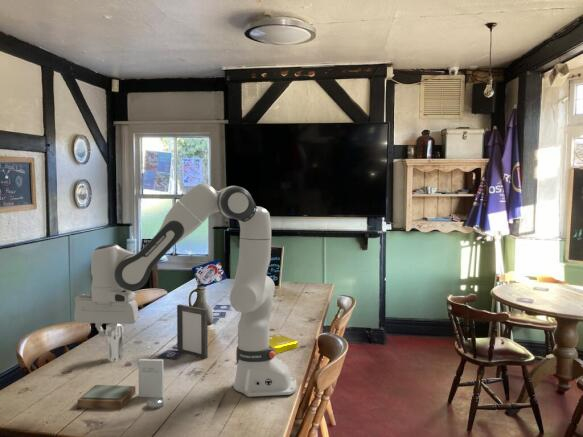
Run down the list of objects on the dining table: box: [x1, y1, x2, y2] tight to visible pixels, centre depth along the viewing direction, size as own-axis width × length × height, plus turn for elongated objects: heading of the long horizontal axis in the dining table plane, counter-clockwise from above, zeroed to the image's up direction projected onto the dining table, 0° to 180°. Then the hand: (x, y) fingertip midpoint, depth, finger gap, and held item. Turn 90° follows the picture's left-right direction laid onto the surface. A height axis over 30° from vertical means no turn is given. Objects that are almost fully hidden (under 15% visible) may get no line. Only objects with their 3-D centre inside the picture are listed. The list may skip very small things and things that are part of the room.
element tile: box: [269, 333, 299, 355], centre depth 211 cm, size 15×15×5 cm
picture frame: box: [176, 303, 209, 360], centre depth 200 cm, size 16×2×21 cm, turn 56°
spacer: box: [146, 397, 164, 410], centre depth 154 cm, size 5×5×2 cm
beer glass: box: [105, 323, 125, 363], centre depth 194 cm, size 7×7×15 cm
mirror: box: [77, 384, 136, 410], centre depth 158 cm, size 14×12×3 cm
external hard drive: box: [138, 358, 165, 398], centre depth 161 cm, size 2×8×12 cm, turn 86°
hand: (106, 336), depth 157 cm, fingers closed
